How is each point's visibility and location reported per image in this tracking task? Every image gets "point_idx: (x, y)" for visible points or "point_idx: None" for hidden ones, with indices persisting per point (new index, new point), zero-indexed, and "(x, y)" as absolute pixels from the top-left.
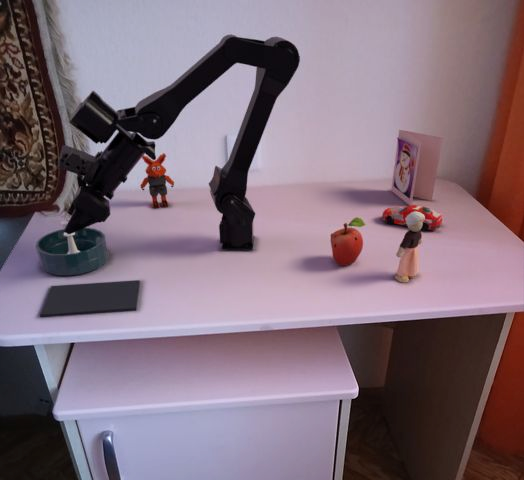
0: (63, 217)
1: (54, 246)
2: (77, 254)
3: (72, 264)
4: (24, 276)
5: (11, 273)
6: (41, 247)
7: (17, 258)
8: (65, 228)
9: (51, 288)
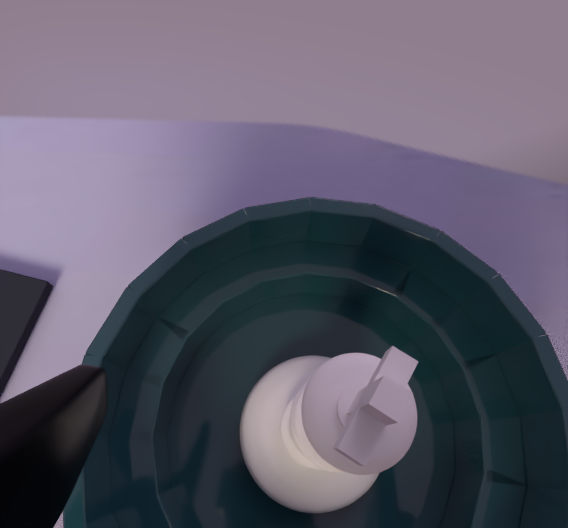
0: (370, 382)
1: (422, 318)
2: None
3: None
4: (240, 185)
5: (292, 142)
6: (374, 241)
7: (438, 167)
8: (52, 378)
9: (20, 280)
